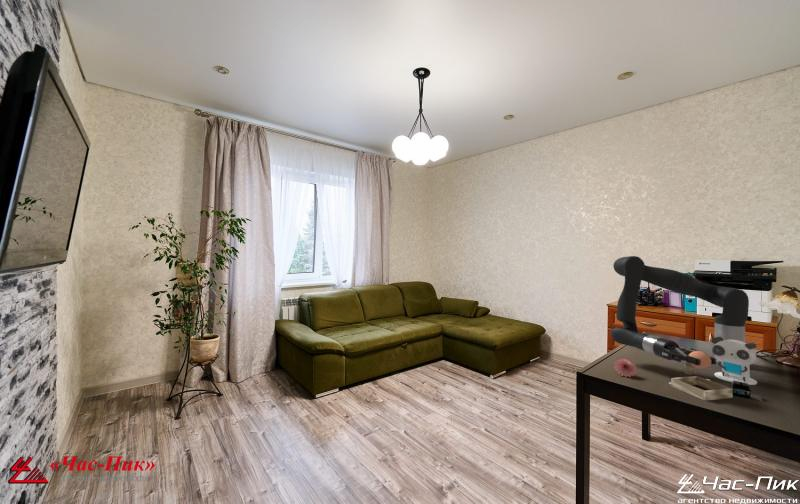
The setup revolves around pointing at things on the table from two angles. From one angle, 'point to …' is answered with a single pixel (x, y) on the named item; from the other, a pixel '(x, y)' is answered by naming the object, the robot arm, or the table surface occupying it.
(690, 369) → the tee
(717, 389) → the corral
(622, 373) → the flower
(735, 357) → the panda figurine
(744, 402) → the table surface
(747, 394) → the black slotted stand
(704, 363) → the ball
